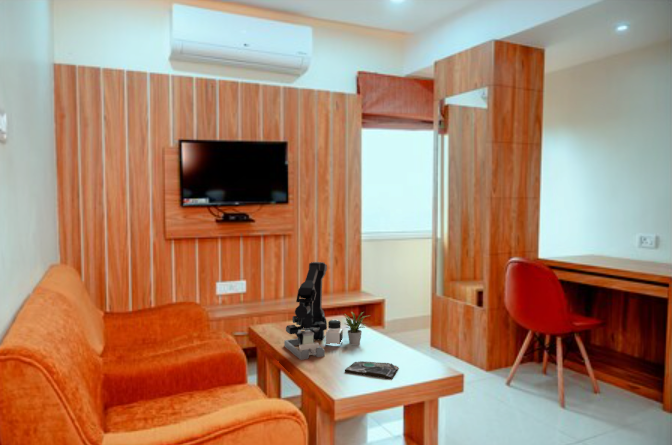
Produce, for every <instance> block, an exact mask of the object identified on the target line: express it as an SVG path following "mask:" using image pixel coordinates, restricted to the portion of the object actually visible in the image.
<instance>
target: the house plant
mask: <svg viewBox="0 0 672 445" xmlns="http://www.w3.org/2000/svg"><path fill="white" fill-rule="evenodd" d="M349 313H351V315H352V317H353V318H352V319H351V318H350V316H349V315H348V314H346V313H344V315H345V320H346V323H345V327H344V329H345V328H348V330H347V336H348V342H349V345H352V346H353V345H354V346H357V345H360V343H361V339H362V330H361V328H366V327H365V326H366V324H362V322H363V321H364V319H365V318H367V317H370V316H371V315H363V314H364V311H363V312H362V311H361V312H360V314H358V316H357V318H356V314H355V312H353V311H349ZM361 316H362V317H361Z"/></svg>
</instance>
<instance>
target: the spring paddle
mask: <svg viewBox="0 0 672 445" xmlns="http://www.w3.org/2000/svg"><path fill="white" fill-rule="evenodd" d="M319 346H320V344H319V342H315V343H309V344H302V345H298V347H299V348H298V350H300V351H301V352H302V350H307V349H308V350H309V356H315V357H316V354H317V353H316V348H319Z"/></svg>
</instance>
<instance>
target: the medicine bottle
mask: <svg viewBox="0 0 672 445" xmlns="http://www.w3.org/2000/svg"><path fill="white" fill-rule="evenodd" d="M325 331H326V332H325V345H326V344H330V343H337V344H340V342H341V340H342V339H343V333H344V332H343V328H341V320H338V319H331V320H329V321H328V322H327V330H325Z"/></svg>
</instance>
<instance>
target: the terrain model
mask: <svg viewBox="0 0 672 445" xmlns="http://www.w3.org/2000/svg"><path fill="white" fill-rule="evenodd" d="M399 369H400V368H399V366H397V365H394V364H393V363H389V362H375V361H361V360H360V361H355V362H353V363H352V364H350V365H349V366H347V367H346V368H345V369H344V373H346V374H353V375H358V376H366V377H372V378H373V377H374V378H381V379H385V380H393V378H394V377H395V375H396V373H397V372H398V371H399Z"/></svg>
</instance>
